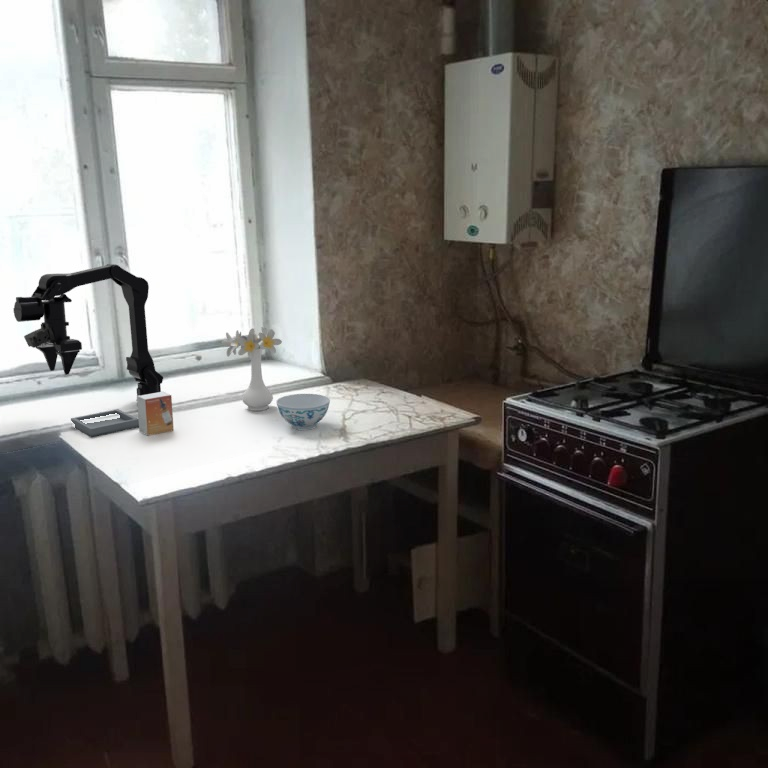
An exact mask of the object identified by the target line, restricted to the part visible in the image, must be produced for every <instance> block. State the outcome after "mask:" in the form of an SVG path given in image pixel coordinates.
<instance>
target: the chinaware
mask: <svg viewBox="0 0 768 768" xmlns="http://www.w3.org/2000/svg"><path fill="white" fill-rule="evenodd" d="M330 401H331V400H330V398H329V397H328V396H326V395H323V394H318V393H296V394H288V395H285V396H282V397H279V398H278V399H277V400H276V406H277V409H278V413H279V414H280V415H281V417H282V419H283V420H285V422H286V423H288V424H290V425H291V427H292V429H294V430H297V429H298V430H299V431H309V430H313V429H315V428H316V427H317V426H316V425H317V424H318V423H320V421H322V420H323V418H324V417H325V416H326V414H327V412H328V410H329V406H330ZM312 428H313V429H312ZM308 429H309V430H308Z"/></svg>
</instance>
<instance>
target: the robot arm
mask: <svg viewBox="0 0 768 768" xmlns="http://www.w3.org/2000/svg"><path fill="white" fill-rule="evenodd" d="M110 279H111V280H112V281H113V282H114V283H115V284H116V285H117V286H119V287H121V291H122V294H123V298H124V300H125V302H126V304H127V306H128V313H129V325H130V338H131V339H130V340H131V349H132V350H131V351H132V352H131V354H130V356H126V357H125V360H126V361H125V362H126V371H128V373H129V375H131V377H133V378H134V380H135V382H137V388H136V397H137V396H139V395H147V394H152V393H158V392H162V389H161V388H162V387H161V384H163V381H164V376H163V375H161V374H160V373H159V372H158V371H157V370H156V367H155V363H154V360H153V358H152V355H151V354H150V351H149V345H148V344H149V343H148V333H147V329H148V328H147V320H146V318H147V317H146V304H147V301H148V298H149V288H150V286H149V282H148V280H147V279H145V278H143V277H140V276H136V275H134V274H133V273H131V272H129V271H127V270H125V269H124V268H122V267H121V266H119V264H114V263H107V264H105V265H102V266H97V267H92V268H88V269H83V270H79V271H74V272H70V273H69V272H68V273H46V274H43V275H42V276H40V278H39V280H38V285H37V287H36V289H35V290H34V292H33V293H32V294H31V296H17V297H16V298H15V302H14V307H13V313H14V318H15V320H16V322H18V323H19V322H23V323H24V322H31V321H34V322H35V321H40V320H41V319H42V318H43V321H44V322H43V321H42V322H41V323H40V328H39V329H35V330H33V331H31V332H29V333H27V334H25V335H24V336H23V337H24V340H25V342H26V344H27V346H28V347H31V348H35V349H37V350H39V351H40V352H41V353H42V354H43V356H44V358H45V362H46V363H47V366H48V369H49V371H53V372H54V371H55V370H56V365H57V361H58V356H59V357H60V359H61V364H62V368H63V373H64V375H65V376H66V375H69V374H70V373H71V370H72V367H73V365H74V363H75V361H76V358H77V357H78V355H79V353H80V352H81V350H83V346H82V345H83V344H82V342H81V341H80V340H79V339H76V338H75V339H74V338H71V337H70V336H69V335H68V332H67V327H68V326H70V322H69V321H67V319H66V311H65V310H66V308H65V303H72V299H71V298H70V297H68V296H67V294H66V293H69V292H70V291H72V290H73V289H76V288H78V287H80V286H84V285H85V286H86V285H88V284H89V285H90V284H93V283H98V282H102V281H107V280H110Z"/></svg>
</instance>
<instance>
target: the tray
mask: <svg viewBox="0 0 768 768" xmlns="http://www.w3.org/2000/svg"><path fill="white" fill-rule="evenodd" d="M115 413H117V414H119V415H120V418H117V419H112V420H105V421H100V422H94V423H87V424H85V423H83V422H82V421H80V420H84V419H90V418H95V417H100V416H106V415H109V414H115ZM71 421H72V422H73V423H74V424H75V428H76V430H77V431H78V432H80V433H82V434H84V435H86V436H87V437H89V438H91V439H93V438H97V437H102V436H106V435H110V434H116V433H120V432H126V431H130V430H134V429H139V419H138V417H136V416H133V415H132V414H129V413H127V412H125V411H123V410H120V409H118V408H116V409H112V410H106V411H101V412H96V413H90V414H86V415H80V416H75V417H71V418H70V422H71ZM75 428H74V429H75Z"/></svg>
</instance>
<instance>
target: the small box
mask: <svg viewBox="0 0 768 768" xmlns="http://www.w3.org/2000/svg"><path fill="white" fill-rule="evenodd" d="M172 399H173V398H172V394H170V393H167V392H166V391H163V390H161V392H158V393H152V394H147V395H139V396H137V395H136V402H137V403H136V404H137V418H138V419H139V428H138V430H139V432H140V433H141V434H144V435H146V436H153V435H157V434H163V433H168V432H174V416H173V415H174V414H173V402H172V401H173V400H172Z"/></svg>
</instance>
